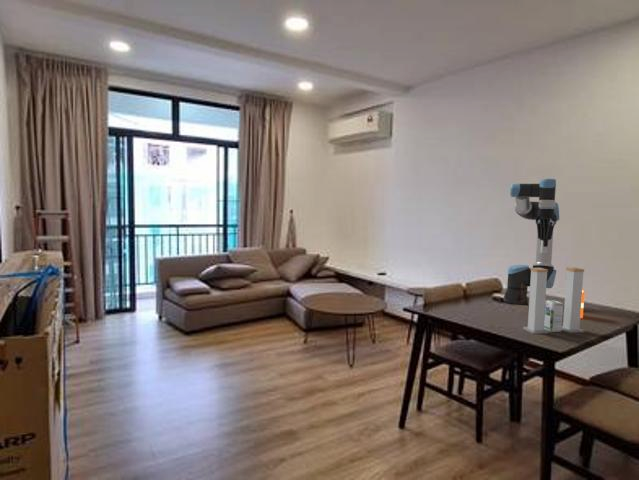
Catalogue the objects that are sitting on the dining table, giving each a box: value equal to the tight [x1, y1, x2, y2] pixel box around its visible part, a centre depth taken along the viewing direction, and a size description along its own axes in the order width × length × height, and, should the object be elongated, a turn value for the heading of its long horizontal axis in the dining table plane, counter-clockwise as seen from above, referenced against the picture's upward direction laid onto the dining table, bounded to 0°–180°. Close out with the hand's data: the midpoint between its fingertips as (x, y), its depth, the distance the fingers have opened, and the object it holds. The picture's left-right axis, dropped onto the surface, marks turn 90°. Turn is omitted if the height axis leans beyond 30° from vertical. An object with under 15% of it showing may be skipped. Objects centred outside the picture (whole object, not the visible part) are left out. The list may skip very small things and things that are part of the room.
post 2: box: [561, 267, 585, 334], centre depth 208 cm, size 8×8×31 cm
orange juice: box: [580, 288, 585, 319], centre depth 235 cm, size 8×9×20 cm
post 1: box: [522, 267, 549, 335], centre depth 206 cm, size 8×8×31 cm
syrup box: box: [544, 299, 564, 333], centre depth 208 cm, size 6×6×14 cm
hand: (543, 252), depth 225 cm, fingers closed
